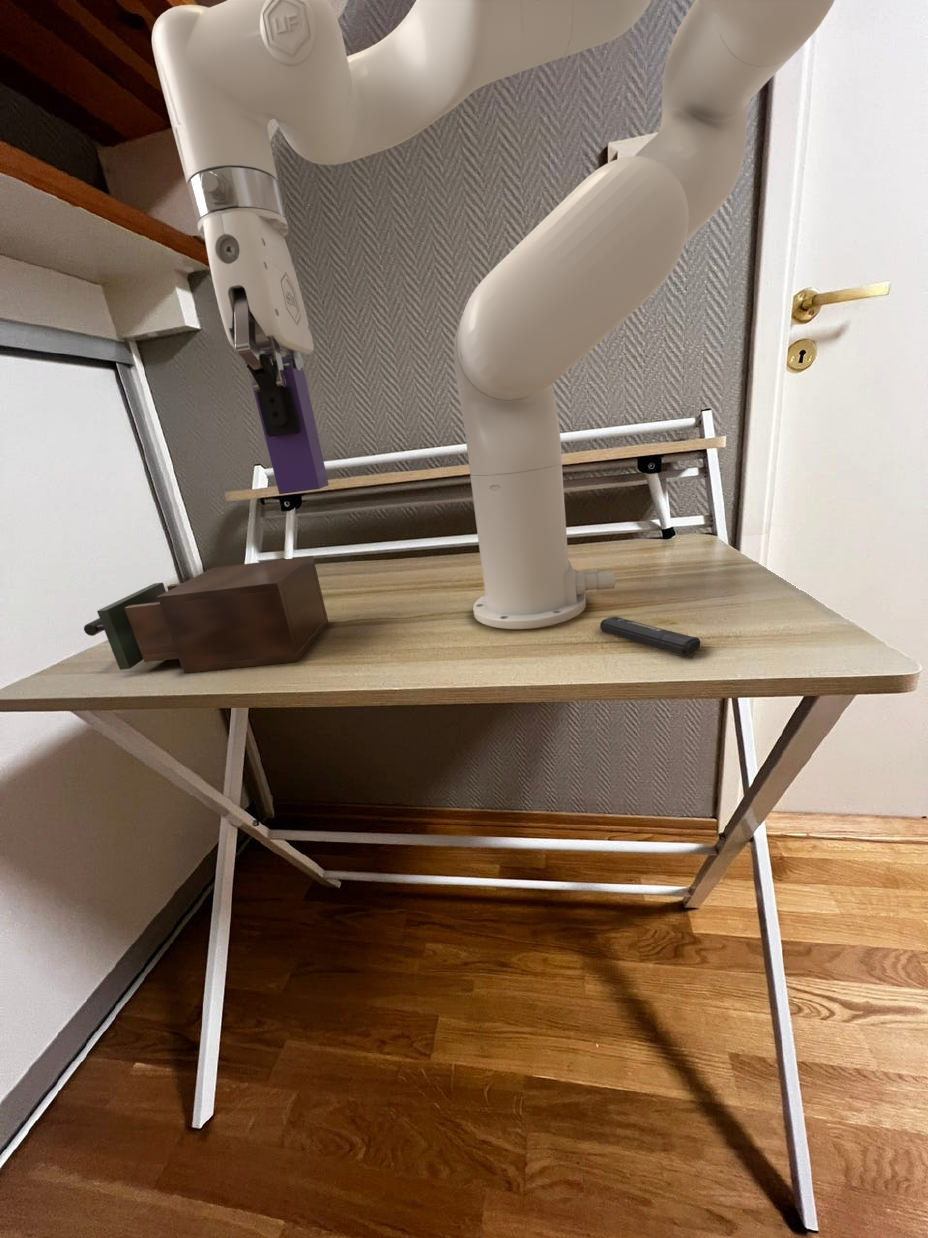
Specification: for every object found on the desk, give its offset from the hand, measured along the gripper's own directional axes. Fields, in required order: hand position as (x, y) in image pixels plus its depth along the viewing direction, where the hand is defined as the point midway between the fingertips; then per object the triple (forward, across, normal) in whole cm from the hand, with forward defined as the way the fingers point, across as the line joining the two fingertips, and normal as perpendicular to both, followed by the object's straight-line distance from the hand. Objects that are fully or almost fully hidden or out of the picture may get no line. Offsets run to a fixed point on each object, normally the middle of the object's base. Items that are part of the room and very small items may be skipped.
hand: (291, 432), depth 53 cm
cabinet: (+22, 0, +9) cm, 24 cm away
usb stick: (+22, -9, -32) cm, 40 cm away
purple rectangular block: (+6, 0, 0) cm, 6 cm away
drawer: (+21, 0, +19) cm, 29 cm away
